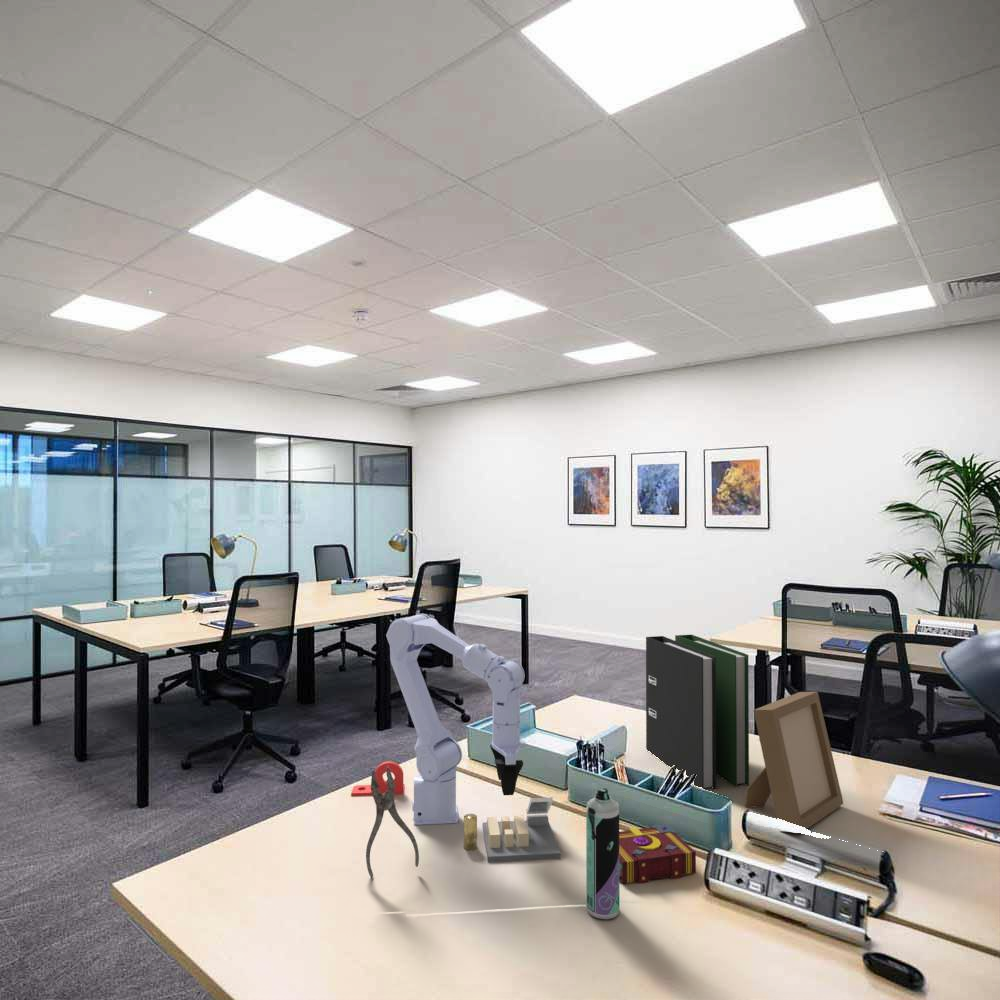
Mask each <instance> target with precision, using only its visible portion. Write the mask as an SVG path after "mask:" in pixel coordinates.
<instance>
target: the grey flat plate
mask: <svg viewBox="0 0 1000 1000" xmlns="http://www.w3.org/2000/svg"><path fill="white" fill-rule="evenodd" d="M553 802H554V800H553V797H550V796H549V797H532V798H530V799H529V803H528V805H527V808H526V815H547V814H548V813H549V811H550V810H551V806H552V804H553Z"/></svg>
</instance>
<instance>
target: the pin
mask: <svg viewBox="0 0 1000 1000" xmlns="http://www.w3.org/2000/svg"><path fill="white" fill-rule="evenodd" d="M463 849H464V850H466V851H475V850H476V849H478V816H477V815H476V813H475V814H474V813H467V814H464V816H463Z"/></svg>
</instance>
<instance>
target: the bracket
mask: <svg viewBox="0 0 1000 1000" xmlns="http://www.w3.org/2000/svg"><path fill="white" fill-rule="evenodd" d="M387 766H389V769H390V772H391V774H392V775H393V776H394V778H393V780H394V782H395V789H394V796H396V795H398V796H400V795H404V791H405V783H404V771H403V768H402V767H401V765H400V764H398V763H397V762H396V761H392V760H391V761H390V760H388V761H383V762H382V763H380V764H379V765H378V766H377V767H376V768H375V770H374V772H375V775H376V781H377V783H379V788H378V789H377V790H378V791H379V792H382V793H385V791H386V790H388V788H389V787H388V786H386V781H387V780H385V778H384V774H386V773H387ZM350 796H351V797H354V796H356V797H359V796H360V797H361V796H373V794H372V791H371V784H357V785H354V786H353V787H352V790H351V792H350Z"/></svg>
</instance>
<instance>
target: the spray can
mask: <svg viewBox="0 0 1000 1000" xmlns="http://www.w3.org/2000/svg"><path fill="white" fill-rule="evenodd" d="M585 811H586V812H585V813H586V815H585V816H586V817H585V818H586V821H585V822H586V825H585V826H586V827H585V828H586V834H585V835H586V850H585V851H586V852H585V853H586V873H585V874H586V887H585V888H586V890H585V891H586V911H587V912H588V914H589V915H591V916H592V917H593V918H596V919H600V920H611V919H614V918H616V917H617V916H619V913H620V880H619V832H620V807H619V803H618V801H616V800H615V799H612V797H611V796H610V795H609V790H608V788H600V789H597V793H596V794H595V795H594V797H592V798H590V799H589V800H588V801H586V810H585Z"/></svg>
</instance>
